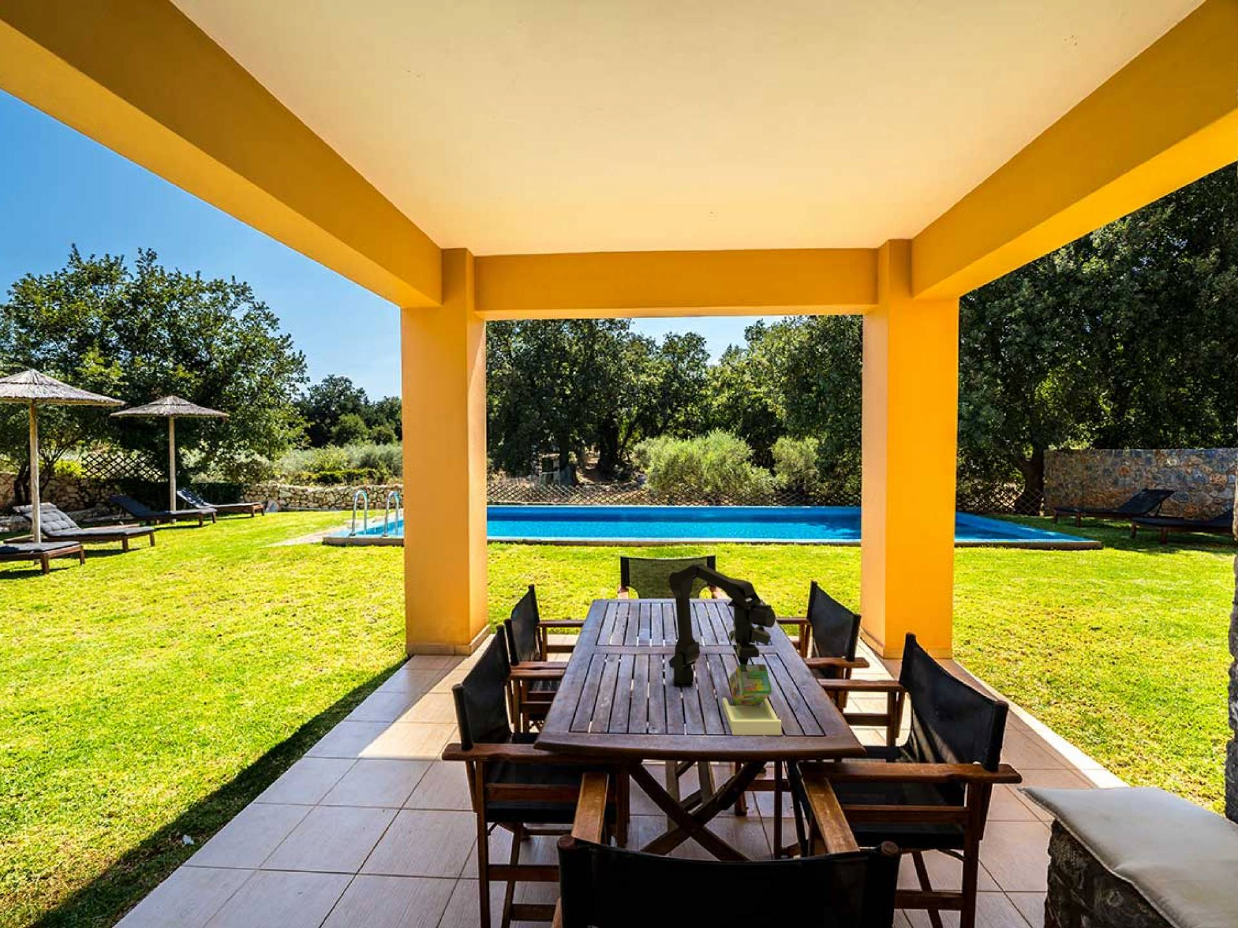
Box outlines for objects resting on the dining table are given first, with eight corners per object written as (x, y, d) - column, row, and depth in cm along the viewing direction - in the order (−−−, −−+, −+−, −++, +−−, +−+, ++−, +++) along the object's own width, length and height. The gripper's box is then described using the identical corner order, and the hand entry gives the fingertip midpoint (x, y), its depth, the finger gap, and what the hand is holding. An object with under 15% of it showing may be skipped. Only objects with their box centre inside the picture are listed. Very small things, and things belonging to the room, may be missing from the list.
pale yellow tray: (732, 734, 170) (732, 721, 170) (722, 706, 188) (722, 694, 188) (781, 734, 170) (781, 721, 169) (766, 706, 188) (766, 694, 188)
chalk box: (733, 705, 187) (747, 690, 176) (728, 677, 193) (741, 659, 182) (761, 705, 189) (776, 689, 177) (755, 676, 194) (769, 659, 183)
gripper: (775, 629, 179) (776, 680, 179) (761, 612, 198) (762, 659, 198) (738, 630, 179) (740, 681, 180) (728, 613, 198) (729, 659, 198)
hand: (744, 669), depth 189 cm, fingers closed
